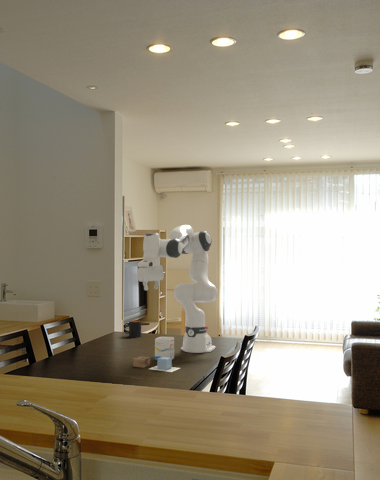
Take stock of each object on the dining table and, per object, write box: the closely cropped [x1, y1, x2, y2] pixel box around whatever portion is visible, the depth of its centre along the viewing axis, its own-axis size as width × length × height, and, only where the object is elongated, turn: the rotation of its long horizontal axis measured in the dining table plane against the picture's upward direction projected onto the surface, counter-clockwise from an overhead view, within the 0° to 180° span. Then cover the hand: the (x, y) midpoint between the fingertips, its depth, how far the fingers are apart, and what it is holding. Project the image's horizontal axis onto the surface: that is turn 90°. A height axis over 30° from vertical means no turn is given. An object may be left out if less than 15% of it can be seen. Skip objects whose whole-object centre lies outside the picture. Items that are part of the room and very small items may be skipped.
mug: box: [123, 319, 142, 338], centre depth 330 cm, size 8×12×10 cm
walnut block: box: [132, 355, 151, 368], centre depth 239 cm, size 6×6×4 cm
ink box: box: [154, 336, 175, 361], centre depth 256 cm, size 9×8×12 cm
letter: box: [148, 365, 181, 373], centre depth 233 cm, size 9×13×1 cm
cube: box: [156, 357, 173, 370], centre depth 233 cm, size 5×5×5 cm
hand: (151, 289), depth 253 cm, fingers open, 8 cm apart
